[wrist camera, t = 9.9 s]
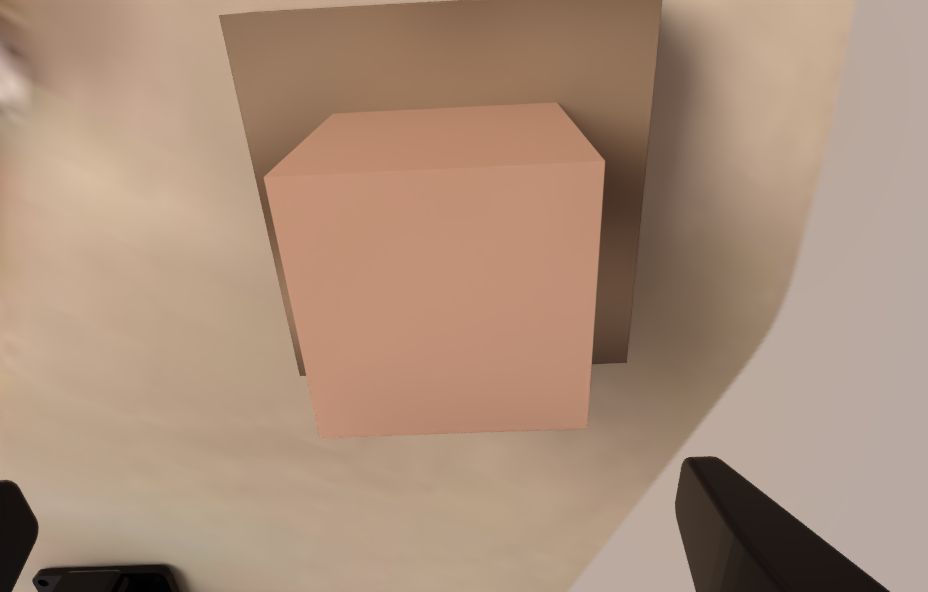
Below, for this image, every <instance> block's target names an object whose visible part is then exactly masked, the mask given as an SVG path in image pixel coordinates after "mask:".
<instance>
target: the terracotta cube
mask: <svg viewBox="0 0 928 592" xmlns="http://www.w3.org/2000/svg"><path fill="white" fill-rule="evenodd" d="M604 171H605V160H604V159H603V158H602V157H601V155H600V154H599V153H598V152H597V151H596V149H595V148H594V147H593V146H592V145H591V143H590V142H589V141H588V140H587V138H586V137H585V136H584V135H583V134H582V132H581V131H580V130H579V129H578V128H577V126H576V125H575V124H574V123H573V121H572V120H571V119H570V118H569V117H568V115H567V114H566V113H565V112H564V111H563V109H562V108H561V107H560V106H559V104H558V103H557V102H555V103H535V104H515V105H494V106H474V107H454V108H434V109H414V110H394V111H374V112H354V113H334V114H332V115H331V116H330V117H329V118H328V119H326V120H325V121H324V122H323V123H322V124H321V125H320V126H319V127H318V128H317V129H316V130H314V131H313V132H312V133H311V134H310V135H309V136H308V137H307V138H306V139H305V140H304V141H302V142H301V143H300V144H299V145H298V146H297V147H296V148H295V149H294V150H293V151H292V152H290V153H289V154H288V155H287V156H286V157H285V158H284V159H283V160H282V161H281V162H280V163H278V164H277V165H276V166H275V167H274V168H273V169H272V170H271V171H270V172H269V173H268V174H267V175H265V176H264V182H265V186H266V191H267V196H268V200H269V205H270V209H271V214H272V219H273V223H274V228H275V233H276V237H277V242H278V247H279V251H280V256H281V260H282V265H283V270H284V274H285V279H286V284H287V288H288V293H289V298H290V302H291V307H292V311H293V316H294V321H295V325H296V330H297V335H298V339H299V344H300V349H301V353H302V358H303V362H304V367H305V372H306V376H307V381H308V386H309V390H310V395H311V399H312V404H313V409H314V413H315V418H316V423H317V427H318V432H319V437H320V438H336V437H364V436H392V435H420V434H448V433H476V432H504V431H532V430H560V429H587V425H588V410H589V395H590V380H591V365H592V350H593V335H594V320H595V305H596V290H597V275H598V261H599V246H600V231H601V216H602V201H603V186H604Z"/></svg>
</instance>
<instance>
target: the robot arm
mask: <svg viewBox="0 0 928 592" xmlns="http://www.w3.org/2000/svg"><path fill="white" fill-rule="evenodd" d="M675 510H676V518H677V522H678V526H679V530H680V533H681V537H682V541H683V545H684V549H685V552H686V556H687V560H688V563H689V567H690V571H691V575H692V579H693V582H694V586H695V590H696V592H890V591H889V590H887V589H886V588H885V587H884V586H882V585H881V584H880V583H878V582H877V581H876V580H875V579H873V578H872V577H871V576H869V575H868V574H867V573H865V572H864V571H863V570H861V569H860V568H859V567H858V566H857V565H855V564H854V563H853V562H851V561H850V560H849V559H847V558H846V557H845V556H844V555H842V554H841V553H840V552H839V551H837V550H836V549H835V548H834V547H832V546H831V545H830V544H828V543H827V542H826V541H824V540H823V539H822V538H821V537H819V536H818V535H817V534H816V533H814V532H813V531H812V530H810V529H809V528H807V526H805V525H804V524H803V523H802V522H800V521H799V520H798V519H796V518H795V517H794V516H792V515H791V514H790V513H789V512H787V511H786V510H785V509H784V508H782V507H781V506H780V505H778V504H777V503H776V502H775V501H773V500H772V499H771V498H769V497H768V496H767V495H766V494H764V493H763V492H762V491H760V490H759V489H758V488H757V487H755V486H754V485H753V484H752V483H750V482H749V481H748V480H746V479H745V478H744V477H743V476H741V475H740V474H739V473H737V472H736V471H735V470H734V469H732V468H731V467H730V466H728V465H727V464H726V463H725V462H723V461H722V460H721V459H719V458H717V457H711V456H708V457H689V458H686V459H685V460H684V461H683V463H682V466H681V472H680V478H679V483H678V489H677V495H676V501H675ZM38 528H39V527H38V521H37V519H36V517H35V515H34V513H33V512H32V510H31V508H30V506H29V504H28V503H27V501H26V499H25V497H24V495H23V493H22V492H21V490H20V488H19V487H18V485H17V484H16V483H14V482H12V481H9V480H0V592H12V590H13V588H14V586H15V584H16V582H17V580H18V578H19V576H20V574H21V571H22V569H23V567H24V565H25V563H26V561H27V559H28V557H29V555H30V552H31V550H32V548H33V546H34V544H35V542H36V539H37V536H38ZM32 582H33V584H34V586H35V587H36V589H37V591H38V592H179V590H178V587H177V585H176V583H175V580H174V578H173V576H172V574H171V571H170V570H169V569H168V568H166V567H164V566H161V565H145V566H114V567H83V568H51V569H41V570H39V571H38V572H37V574H36V575H35V577H34V578H33V580H32Z"/></svg>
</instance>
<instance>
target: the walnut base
mask: <svg viewBox="0 0 928 592" xmlns="http://www.w3.org/2000/svg"><path fill="white" fill-rule="evenodd" d="M661 7H662V0H457V1H440V2H422V3H405V4H387V5H370V6H352V7H335V8H317V9H300V10H282V11H265V12H249V13H239V14H228V15H219V18H220V22H221V27H222V31H223V36H224V40H225V44H226V49H227V53H228V58H229V62H230V67H231V71H232V76H233V80H234V84H235V89H236V93H237V98H238V102H239V107H240V111H241V116H242V120H243V124H244V129H245V133H246V138H247V142H248V147H249V151H250V156H251V160H252V164H253V169H254V173H255V178H256V182H257V187H258V191H259V196H260V200H261V205H262V209H263V213H264V218H265V222H266V227H267V231H268V236H269V240H270V245H271V249H272V253H273V258H274V262H275V267H276V271H277V276H278V280H279V285H280V289H281V293H282V298H283V302H284V307H285V311H286V316H287V320H288V325H289V329H290V333H291V338H292V342H293V347H294V351H295V356H296V360H297V365H298V369H299V373H300V376H306V372H305V367H304V362H303V358H302V353H301V349H300V344H299V339H298V335H297V330H296V325H295V321H294V316H293V311H292V307H291V302H290V298H289V293H288V288H287V284H286V279H285V274H284V270H283V265H282V260H281V256H280V251H279V247H278V242H277V237H276V233H275V228H274V223H273V219H272V214H271V209H270V205H269V200H268V196H267V191H266V186H265V182H264V176H265V175H267V174H268V173H269V172H270V171H271V170H272V169H273V168H274V167H275V166H276V165H277V164H278V163H280V162H281V161H282V160H283V159H284V158H285V157H286V156H287V155H288V154H289V153H290V152H292V151H293V150H294V149H295V148H296V147H297V146H298V145H299V144H300V143H301V142H302V141H304V140H305V139H306V138H307V137H308V136H309V135H310V134H311V133H312V132H313V131H314V130H316V129H317V128H318V127H319V126H320V125H321V124H322V123H323V122H324V121H325V120H326V119H328V118H329V117H330V116H331V115H332V114H334V113H354V112H374V111H394V110H414V109H434V108H454V107H474V106H494V105H515V104H535V103H555V102H557V103H558V104H559V106H560V107H561V108H562V109H563V111H564V112H565V113H566V114H567V115H568V117H569V118H570V119H571V120H572V121H573V123H574V124H575V125H576V126H577V128H578V129H579V130H580V131H581V132H582V134H583V135H584V136H585V137H586V138H587V140H588V141H589V142H590V143H591V145H592V146H593V147H594V148H595V149H596V151H597V152H598V153H599V154H600V155H601V157H602V158H603V159H604V160H605V171H604V186H603V201H602V216H601V231H600V246H599V261H598V275H597V290H596V305H595V320H594V335H593V350H592V364H607V363H627V353H628V343H629V333H630V322H631V312H632V302H633V292H634V282H635V272H636V261H637V251H638V241H639V231H640V221H641V210H642V200H643V190H644V180H645V170H646V160H647V149H648V139H649V129H650V119H651V109H652V98H653V88H654V78H655V68H656V58H657V48H658V37H659V27H660V17H661Z"/></svg>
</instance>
